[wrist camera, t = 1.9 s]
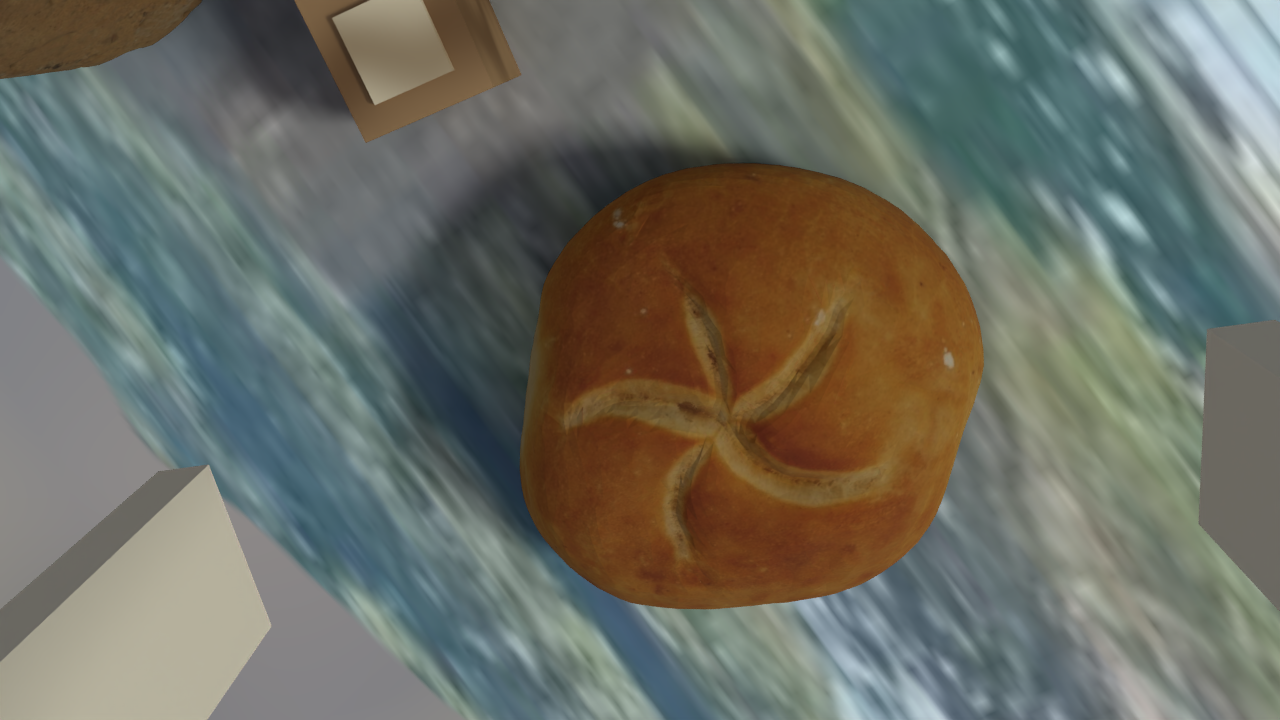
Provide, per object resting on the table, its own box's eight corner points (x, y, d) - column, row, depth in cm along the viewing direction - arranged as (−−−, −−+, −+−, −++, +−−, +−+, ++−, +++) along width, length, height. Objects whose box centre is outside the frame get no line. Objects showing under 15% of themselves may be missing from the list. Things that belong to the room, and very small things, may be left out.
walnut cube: (348, -1, 42) (291, 0, 36) (465, -56, 41) (424, -65, 35) (409, 123, 44) (363, 143, 38) (521, 74, 43) (492, 87, 37)
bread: (429, 269, 47) (360, 337, 38) (868, 61, 42) (914, 81, 32) (625, 612, 54) (608, 741, 44) (1022, 470, 49) (1096, 582, 39)
